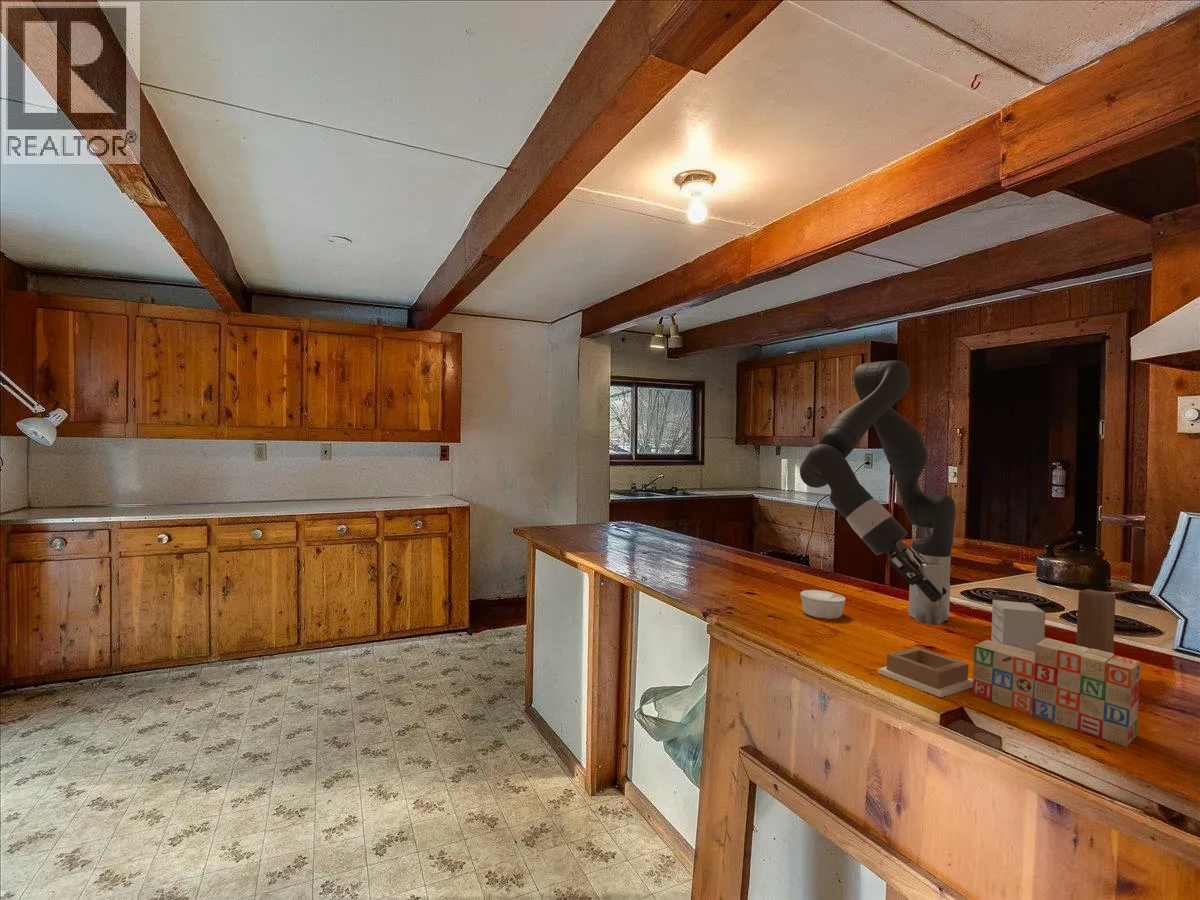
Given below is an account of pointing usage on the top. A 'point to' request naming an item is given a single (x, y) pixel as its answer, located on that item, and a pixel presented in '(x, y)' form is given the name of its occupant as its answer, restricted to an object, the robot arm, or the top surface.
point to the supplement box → (1017, 624)
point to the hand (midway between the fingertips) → (940, 597)
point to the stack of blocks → (1062, 685)
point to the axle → (923, 605)
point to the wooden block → (1096, 620)
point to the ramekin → (822, 603)
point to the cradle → (927, 671)
